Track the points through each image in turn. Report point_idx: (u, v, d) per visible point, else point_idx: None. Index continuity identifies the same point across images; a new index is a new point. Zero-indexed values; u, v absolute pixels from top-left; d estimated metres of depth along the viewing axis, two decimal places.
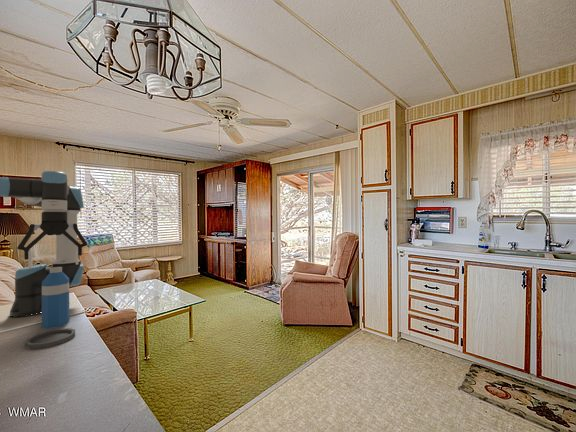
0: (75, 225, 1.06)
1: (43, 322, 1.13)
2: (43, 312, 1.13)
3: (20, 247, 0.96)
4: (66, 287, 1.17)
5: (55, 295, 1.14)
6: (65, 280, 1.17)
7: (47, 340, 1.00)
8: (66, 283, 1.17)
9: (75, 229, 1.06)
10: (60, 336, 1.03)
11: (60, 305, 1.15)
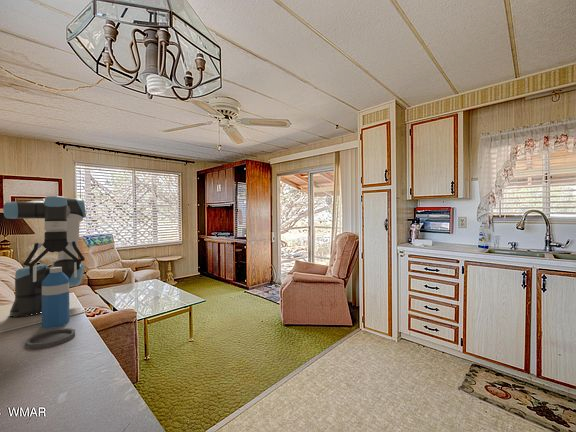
0: (74, 243, 1.20)
1: (43, 322, 1.13)
2: (43, 312, 1.13)
3: (26, 263, 1.11)
4: (66, 287, 1.17)
5: (55, 295, 1.14)
6: (65, 280, 1.17)
7: (47, 340, 1.00)
8: (66, 283, 1.17)
9: (74, 246, 1.20)
10: (60, 336, 1.03)
11: (60, 305, 1.15)
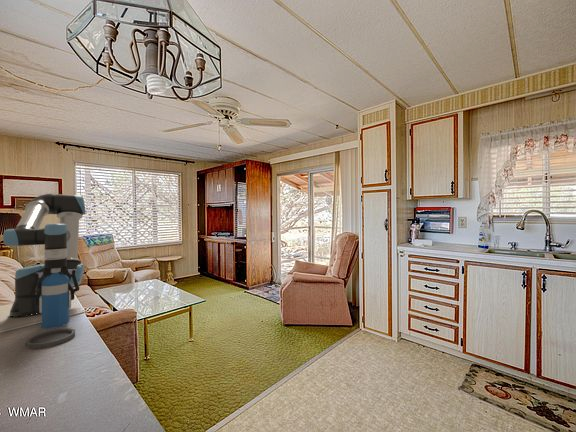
0: (74, 271, 1.20)
1: (43, 322, 1.13)
2: (43, 312, 1.13)
3: (32, 295, 1.12)
4: (66, 287, 1.17)
5: (55, 295, 1.14)
6: (65, 280, 1.17)
7: (47, 340, 1.00)
8: (66, 283, 1.17)
9: (73, 275, 1.20)
10: (60, 336, 1.03)
11: (60, 305, 1.15)
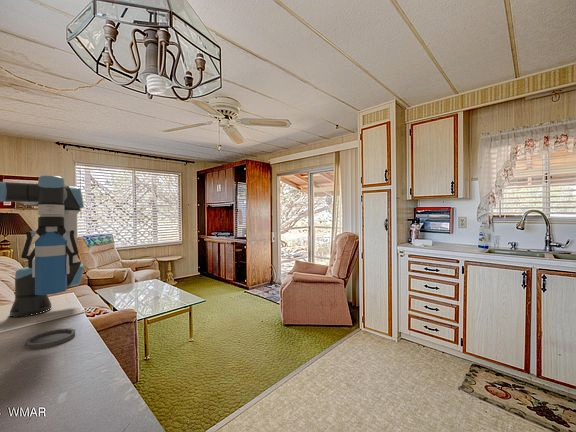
0: (72, 232, 1.04)
1: (36, 288, 0.97)
2: (36, 276, 0.97)
3: (24, 256, 0.96)
4: (63, 249, 1.02)
5: (51, 257, 0.98)
6: (62, 241, 1.01)
7: (47, 340, 1.00)
8: (63, 244, 1.02)
9: (71, 236, 1.04)
10: (60, 336, 1.03)
11: (56, 268, 0.99)
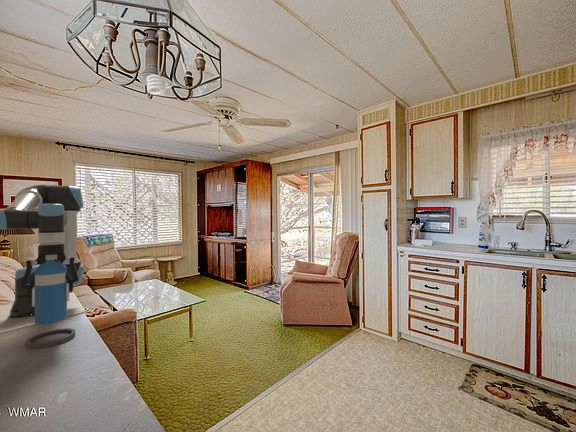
0: (72, 259, 1.04)
1: (36, 317, 0.97)
2: (36, 305, 0.97)
3: (24, 285, 0.96)
4: (63, 277, 1.01)
5: (51, 286, 0.98)
6: (62, 269, 1.01)
7: (47, 340, 1.00)
8: (63, 272, 1.01)
9: (71, 263, 1.04)
10: (60, 336, 1.03)
11: (56, 297, 0.99)
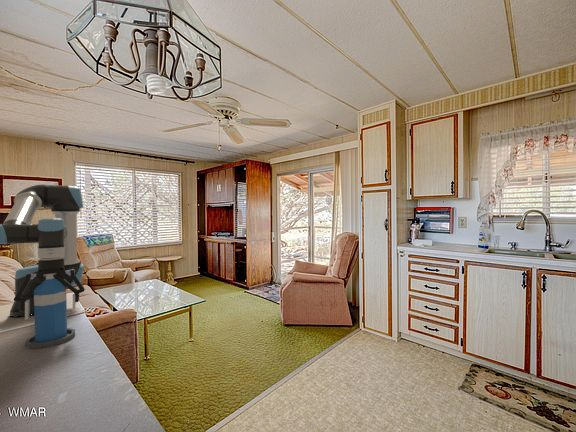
0: (72, 271, 1.04)
1: (37, 337, 0.97)
2: (36, 325, 0.97)
3: (16, 298, 0.95)
4: (63, 296, 1.01)
5: (50, 306, 0.98)
6: (61, 288, 1.01)
7: None
8: (63, 291, 1.01)
9: (72, 275, 1.04)
10: None
11: (56, 316, 0.99)
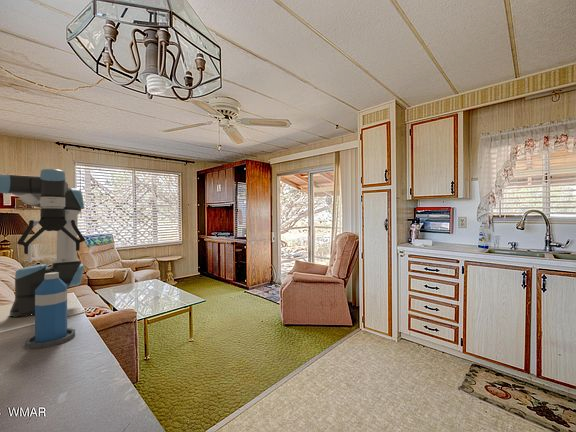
0: (73, 221, 1.10)
1: (37, 337, 0.97)
2: (37, 325, 0.97)
3: (20, 242, 1.00)
4: (63, 296, 1.01)
5: (51, 305, 0.98)
6: (62, 288, 1.01)
7: None
8: (63, 291, 1.01)
9: (73, 225, 1.10)
10: None
11: (57, 316, 0.99)
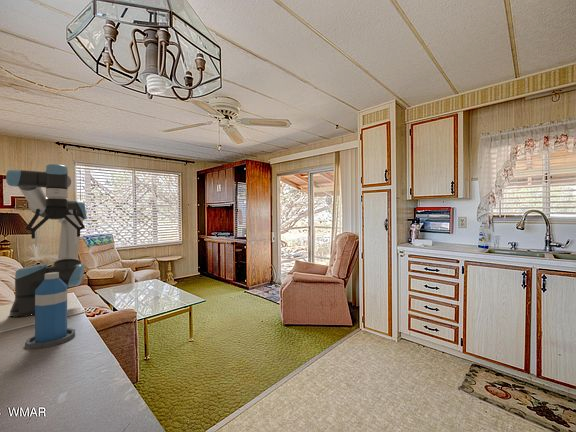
0: (74, 210, 1.24)
1: (37, 337, 0.97)
2: (37, 325, 0.97)
3: (28, 228, 1.14)
4: (64, 296, 1.01)
5: (51, 305, 0.98)
6: (62, 288, 1.01)
7: None
8: (64, 291, 1.01)
9: (74, 214, 1.24)
10: None
11: (57, 316, 0.99)
